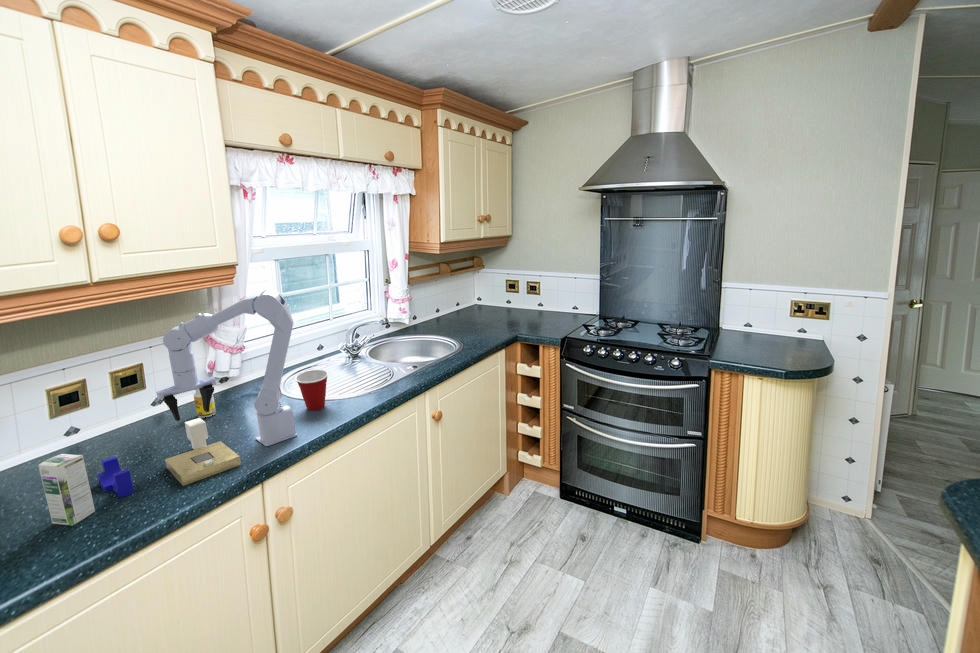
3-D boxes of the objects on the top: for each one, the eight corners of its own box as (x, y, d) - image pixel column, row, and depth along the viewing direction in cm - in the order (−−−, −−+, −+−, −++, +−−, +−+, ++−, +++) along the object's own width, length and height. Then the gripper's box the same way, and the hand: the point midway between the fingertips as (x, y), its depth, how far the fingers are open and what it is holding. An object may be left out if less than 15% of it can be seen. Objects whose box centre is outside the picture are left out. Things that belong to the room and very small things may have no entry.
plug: (204, 442, 152) (199, 417, 150) (210, 448, 148) (205, 422, 146) (189, 447, 149) (184, 422, 147) (194, 453, 145) (190, 426, 143)
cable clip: (99, 484, 130) (94, 463, 129) (120, 477, 134) (115, 456, 132) (112, 501, 122) (107, 478, 121) (134, 493, 126) (129, 470, 124)
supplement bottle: (196, 415, 173) (190, 386, 170) (214, 410, 176) (209, 382, 174) (199, 419, 169) (193, 390, 166) (217, 415, 172) (212, 386, 169)
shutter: (208, 454, 140) (207, 452, 140) (213, 459, 137) (213, 457, 137) (192, 460, 137) (191, 458, 137) (197, 464, 134) (196, 462, 134)
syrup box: (51, 524, 114) (35, 464, 110) (76, 509, 119) (62, 452, 116) (72, 526, 113) (57, 466, 109) (97, 511, 118) (83, 453, 115)
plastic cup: (293, 414, 170) (289, 380, 168) (306, 402, 181) (302, 369, 178) (325, 413, 170) (321, 379, 167) (336, 401, 180) (332, 369, 178)
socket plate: (221, 449, 147) (220, 438, 146) (241, 464, 138) (239, 453, 137) (166, 467, 137) (164, 456, 137) (183, 485, 128) (180, 473, 127)
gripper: (206, 360, 150) (213, 404, 153) (149, 373, 139) (158, 420, 143) (215, 365, 145) (223, 409, 149) (158, 378, 135) (167, 426, 138)
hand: (192, 415), depth 145 cm, fingers open, 7 cm apart
